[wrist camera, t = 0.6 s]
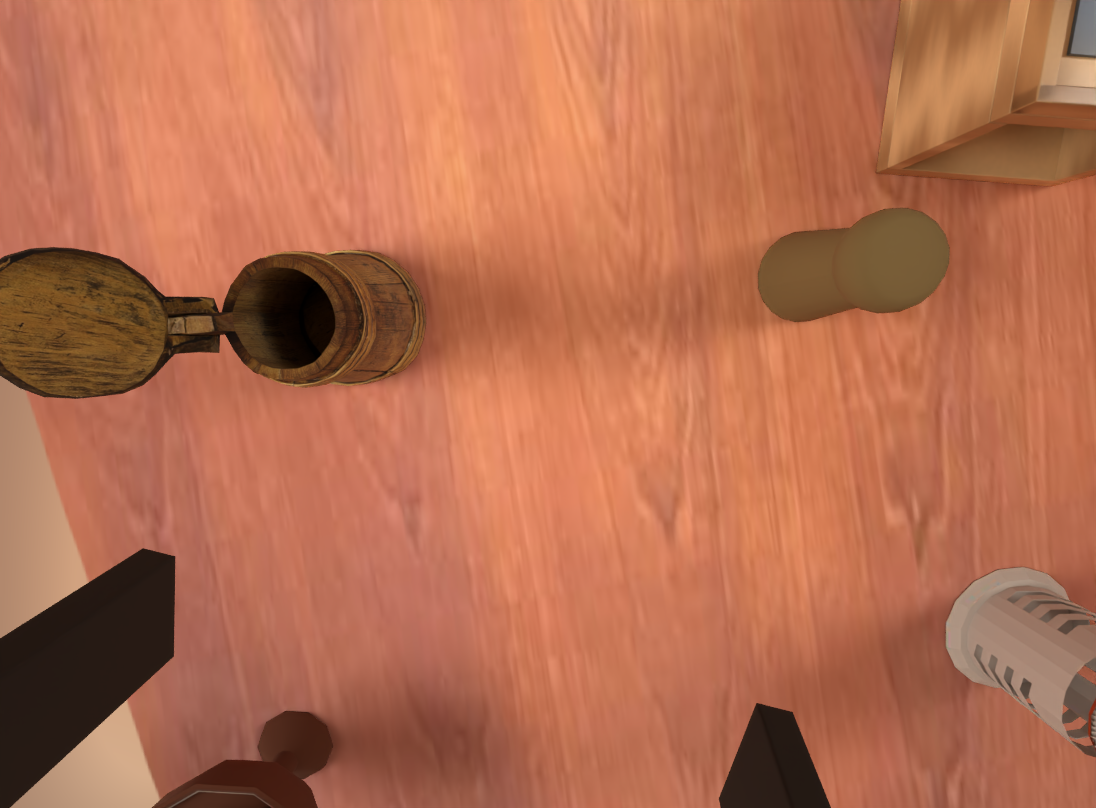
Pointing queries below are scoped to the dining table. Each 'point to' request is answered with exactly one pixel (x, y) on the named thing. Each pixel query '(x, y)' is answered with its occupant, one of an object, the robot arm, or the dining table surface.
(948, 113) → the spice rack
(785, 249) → the olive pawn piece
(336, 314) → the wooden mug
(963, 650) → the french press
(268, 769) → the ice cream bowl
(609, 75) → the dining table surface
